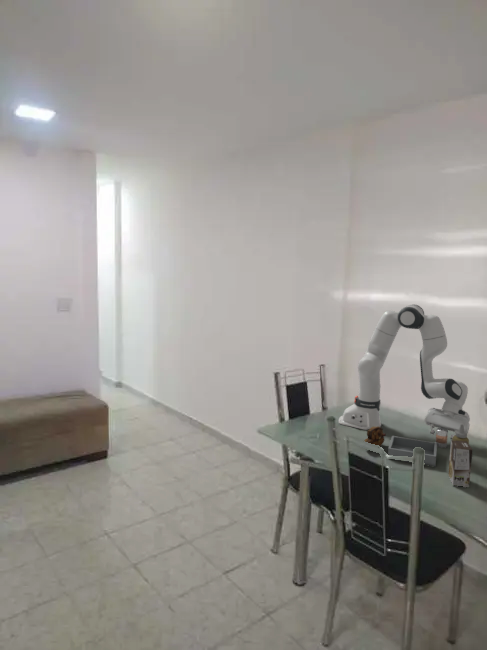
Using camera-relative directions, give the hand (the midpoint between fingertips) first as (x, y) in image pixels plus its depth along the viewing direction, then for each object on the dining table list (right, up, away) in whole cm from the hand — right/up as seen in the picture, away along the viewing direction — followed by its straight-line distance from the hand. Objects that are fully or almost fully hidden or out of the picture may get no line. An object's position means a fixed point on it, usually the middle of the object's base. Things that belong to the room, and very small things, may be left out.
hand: (441, 436), depth 226 cm
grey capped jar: (0, -5, +1) cm, 5 cm away
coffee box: (-8, -11, -34) cm, 37 cm away
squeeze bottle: (0, -8, -18) cm, 19 cm away
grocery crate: (-18, -6, -11) cm, 22 cm away
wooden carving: (-33, -5, -2) cm, 33 cm away
